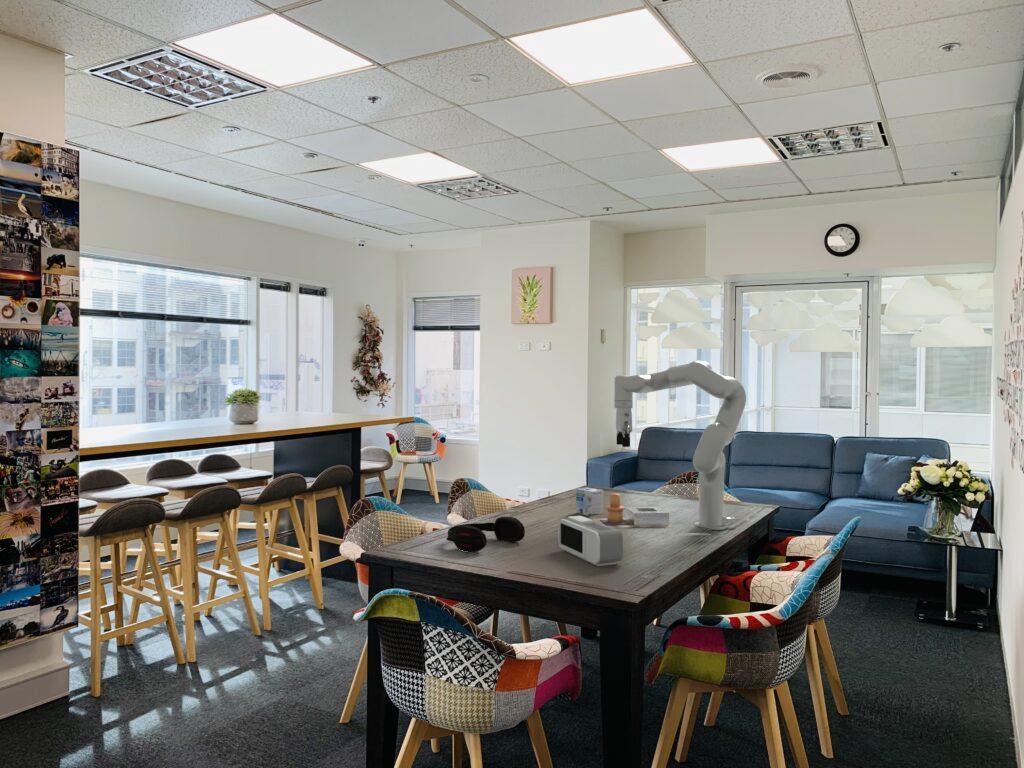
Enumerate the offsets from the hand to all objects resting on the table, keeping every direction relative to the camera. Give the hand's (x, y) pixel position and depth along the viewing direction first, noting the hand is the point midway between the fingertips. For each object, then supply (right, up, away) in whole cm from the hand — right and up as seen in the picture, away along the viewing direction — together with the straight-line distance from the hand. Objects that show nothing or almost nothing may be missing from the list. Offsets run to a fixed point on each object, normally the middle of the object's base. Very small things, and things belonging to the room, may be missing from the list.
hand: (623, 445), depth 324 cm
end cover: (-5, -29, -15) cm, 33 cm away
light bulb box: (-13, -30, +9) cm, 34 cm away
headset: (-55, -31, -53) cm, 83 cm away
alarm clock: (-21, -32, -69) cm, 79 cm away
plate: (+1, -31, -14) cm, 34 cm away
